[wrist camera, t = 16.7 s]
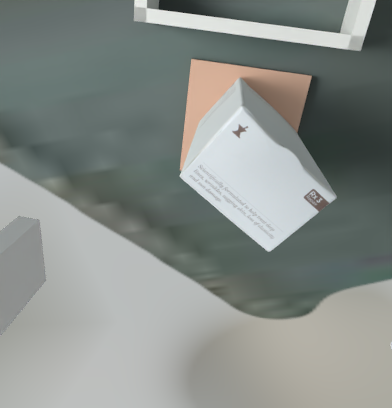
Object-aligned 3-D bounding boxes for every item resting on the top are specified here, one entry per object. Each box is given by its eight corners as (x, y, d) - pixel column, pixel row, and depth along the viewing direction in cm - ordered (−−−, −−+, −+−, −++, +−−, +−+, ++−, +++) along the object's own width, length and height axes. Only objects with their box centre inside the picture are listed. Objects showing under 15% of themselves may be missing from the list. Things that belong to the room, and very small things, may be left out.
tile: (192, 58, 32) (191, 59, 32) (310, 75, 31) (311, 76, 31) (180, 168, 37) (179, 170, 37) (282, 184, 36) (283, 187, 36)
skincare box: (199, 120, 34) (167, 175, 21) (242, 72, 31) (238, 99, 18) (259, 176, 36) (265, 259, 22) (304, 134, 33) (342, 200, 20)
